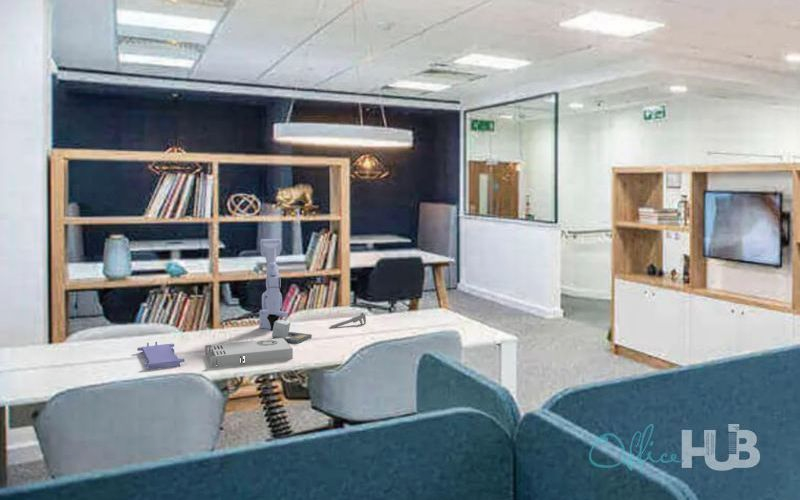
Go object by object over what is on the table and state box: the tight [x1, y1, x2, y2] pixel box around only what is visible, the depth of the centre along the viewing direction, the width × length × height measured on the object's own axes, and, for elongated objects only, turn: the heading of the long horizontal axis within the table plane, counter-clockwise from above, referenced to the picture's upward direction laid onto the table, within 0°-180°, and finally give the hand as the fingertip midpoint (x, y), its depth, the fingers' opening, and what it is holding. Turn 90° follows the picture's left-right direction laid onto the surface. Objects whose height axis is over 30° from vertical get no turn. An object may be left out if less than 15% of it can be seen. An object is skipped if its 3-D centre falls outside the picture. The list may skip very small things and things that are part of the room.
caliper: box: [328, 311, 367, 329], centre depth 323 cm, size 20×1×6 cm, turn 121°
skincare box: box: [271, 318, 291, 338], centre depth 299 cm, size 6×6×7 cm
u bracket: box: [271, 331, 313, 345], centre depth 297 cm, size 14×12×2 cm
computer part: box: [136, 341, 185, 370], centre depth 265 cm, size 30×4×15 cm
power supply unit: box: [204, 338, 294, 368], centre depth 268 cm, size 19×33×5 cm, turn 113°
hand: (273, 330), depth 300 cm, fingers closed, pressing on skincare box
